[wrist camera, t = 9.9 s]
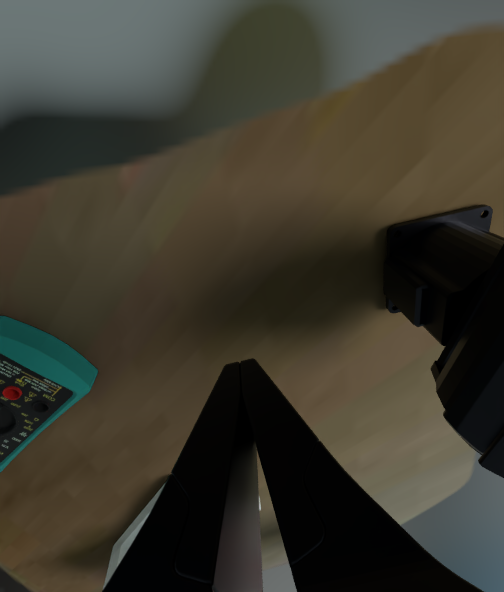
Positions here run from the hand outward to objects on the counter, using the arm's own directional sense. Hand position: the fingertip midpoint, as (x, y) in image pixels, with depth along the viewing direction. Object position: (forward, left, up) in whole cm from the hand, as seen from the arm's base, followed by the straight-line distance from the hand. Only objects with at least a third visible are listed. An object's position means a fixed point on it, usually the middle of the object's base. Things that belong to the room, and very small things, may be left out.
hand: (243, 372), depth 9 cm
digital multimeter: (+19, +8, -13) cm, 25 cm away
